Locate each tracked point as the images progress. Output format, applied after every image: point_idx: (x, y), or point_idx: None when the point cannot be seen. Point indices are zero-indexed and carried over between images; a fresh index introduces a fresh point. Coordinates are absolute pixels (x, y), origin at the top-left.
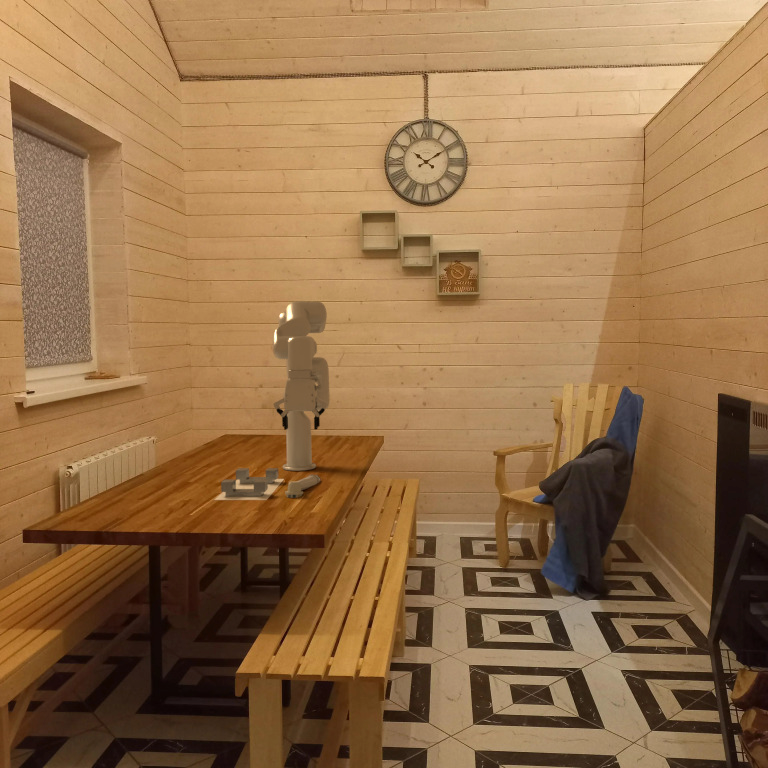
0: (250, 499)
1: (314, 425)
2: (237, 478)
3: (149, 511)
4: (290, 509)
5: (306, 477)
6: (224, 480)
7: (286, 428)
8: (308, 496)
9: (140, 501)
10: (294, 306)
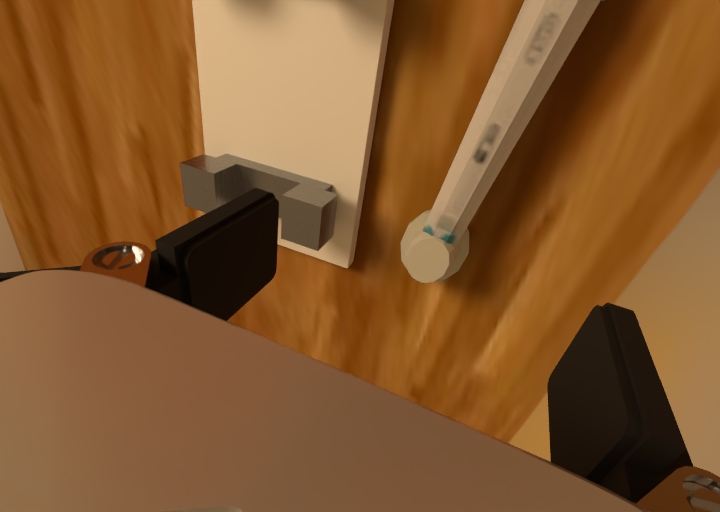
0: (302, 248)
1: (552, 415)
2: None
3: (118, 231)
4: (419, 328)
5: (518, 63)
6: (184, 180)
7: (271, 275)
8: (502, 191)
9: (50, 126)
10: None
